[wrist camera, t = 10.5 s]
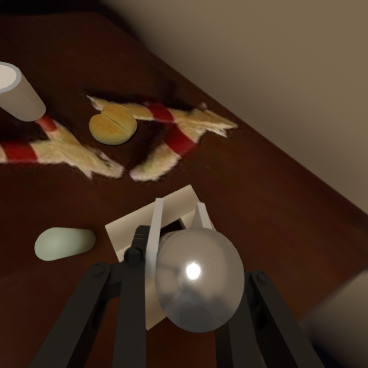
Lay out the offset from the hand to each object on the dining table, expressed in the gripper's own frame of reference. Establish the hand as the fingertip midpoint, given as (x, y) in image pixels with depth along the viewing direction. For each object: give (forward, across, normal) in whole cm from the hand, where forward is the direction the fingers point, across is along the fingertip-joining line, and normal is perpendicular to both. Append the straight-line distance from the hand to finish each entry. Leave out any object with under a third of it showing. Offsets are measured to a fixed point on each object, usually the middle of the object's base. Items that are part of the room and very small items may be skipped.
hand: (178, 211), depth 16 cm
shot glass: (+23, -30, +4) cm, 38 cm away
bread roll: (+22, -14, +4) cm, 26 cm away
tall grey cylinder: (+2, 0, -7) cm, 7 cm away
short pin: (+6, -14, -12) cm, 20 cm away
